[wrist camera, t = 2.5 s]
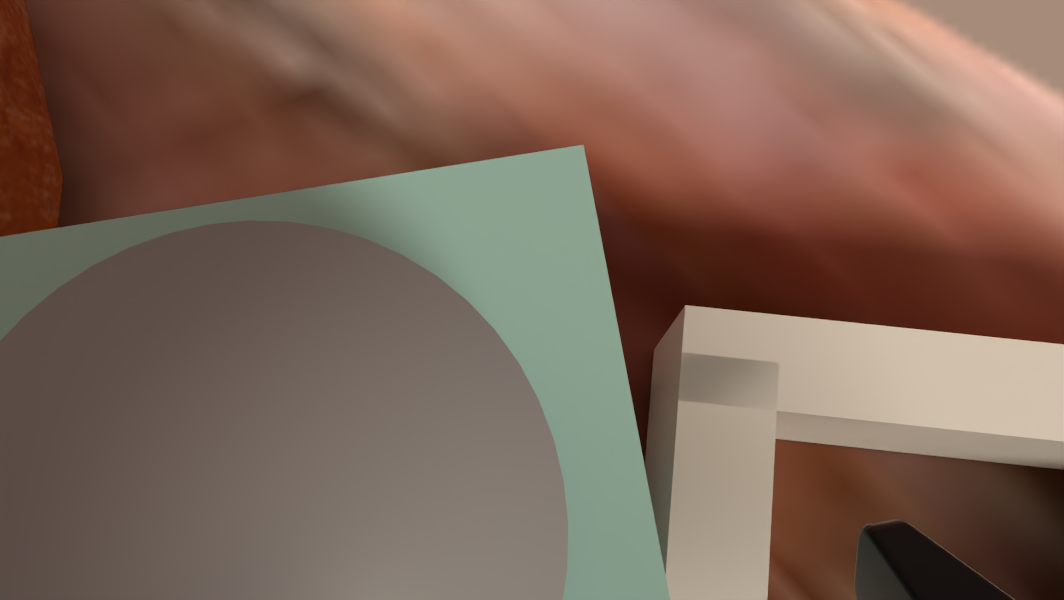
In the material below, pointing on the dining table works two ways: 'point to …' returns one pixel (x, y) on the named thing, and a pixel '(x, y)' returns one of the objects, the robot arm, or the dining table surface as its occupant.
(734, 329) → the cradle
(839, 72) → the dining table surface
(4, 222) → the bread
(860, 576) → the robot arm
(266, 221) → the post
